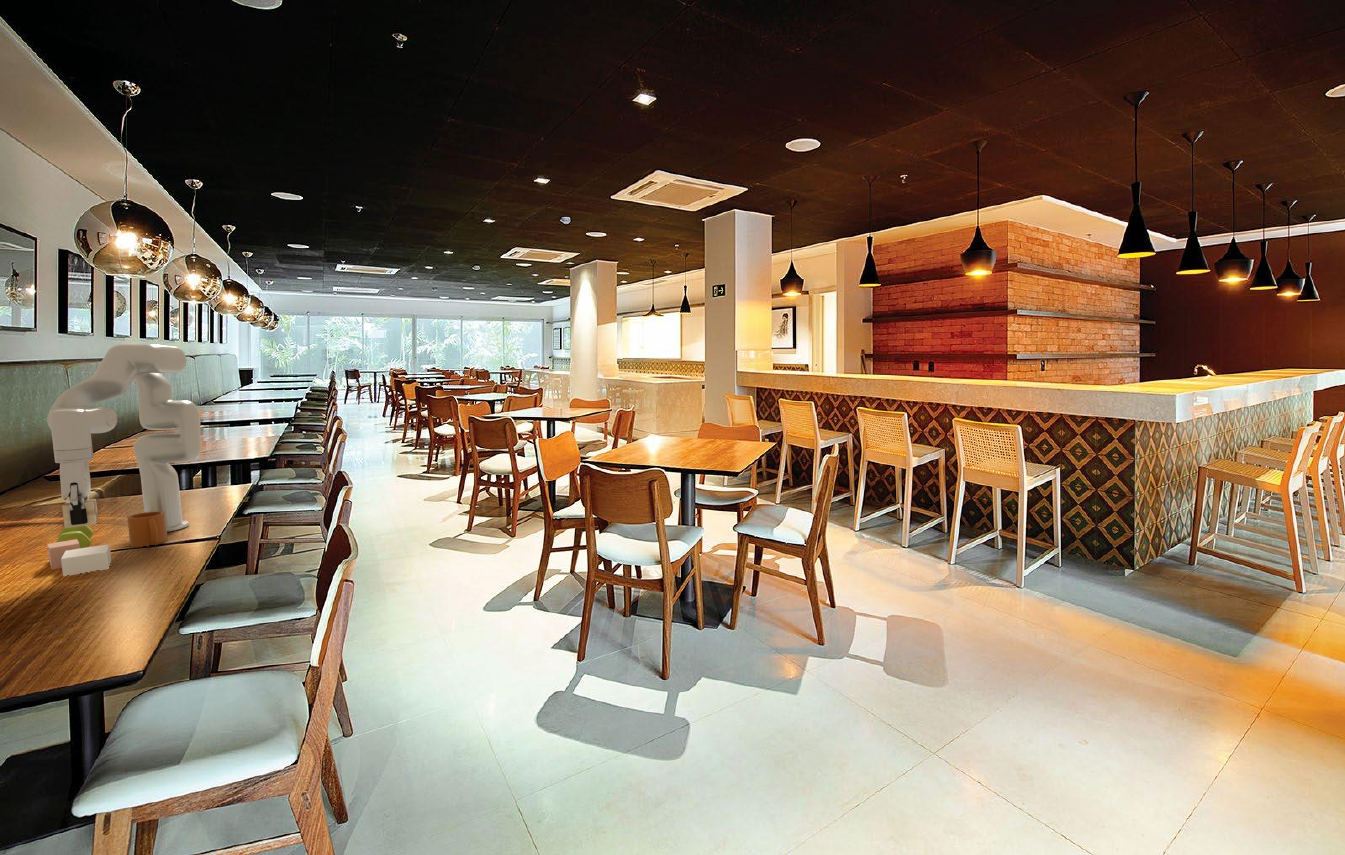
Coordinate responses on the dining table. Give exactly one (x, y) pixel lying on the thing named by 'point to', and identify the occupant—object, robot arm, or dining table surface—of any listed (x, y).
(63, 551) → the pink cube
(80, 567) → the base block
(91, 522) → the maple cube
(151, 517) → the mug
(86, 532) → the dumbbell
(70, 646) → the dining table surface
